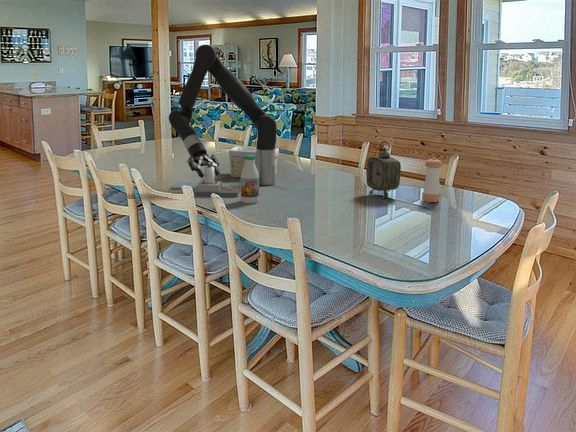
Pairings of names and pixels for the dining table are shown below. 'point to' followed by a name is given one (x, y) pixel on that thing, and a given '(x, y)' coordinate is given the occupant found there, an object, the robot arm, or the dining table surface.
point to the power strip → (215, 190)
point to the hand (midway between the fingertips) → (210, 175)
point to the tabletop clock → (383, 172)
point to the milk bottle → (249, 181)
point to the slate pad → (180, 183)
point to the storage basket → (238, 158)
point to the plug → (209, 175)
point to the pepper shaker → (432, 180)
